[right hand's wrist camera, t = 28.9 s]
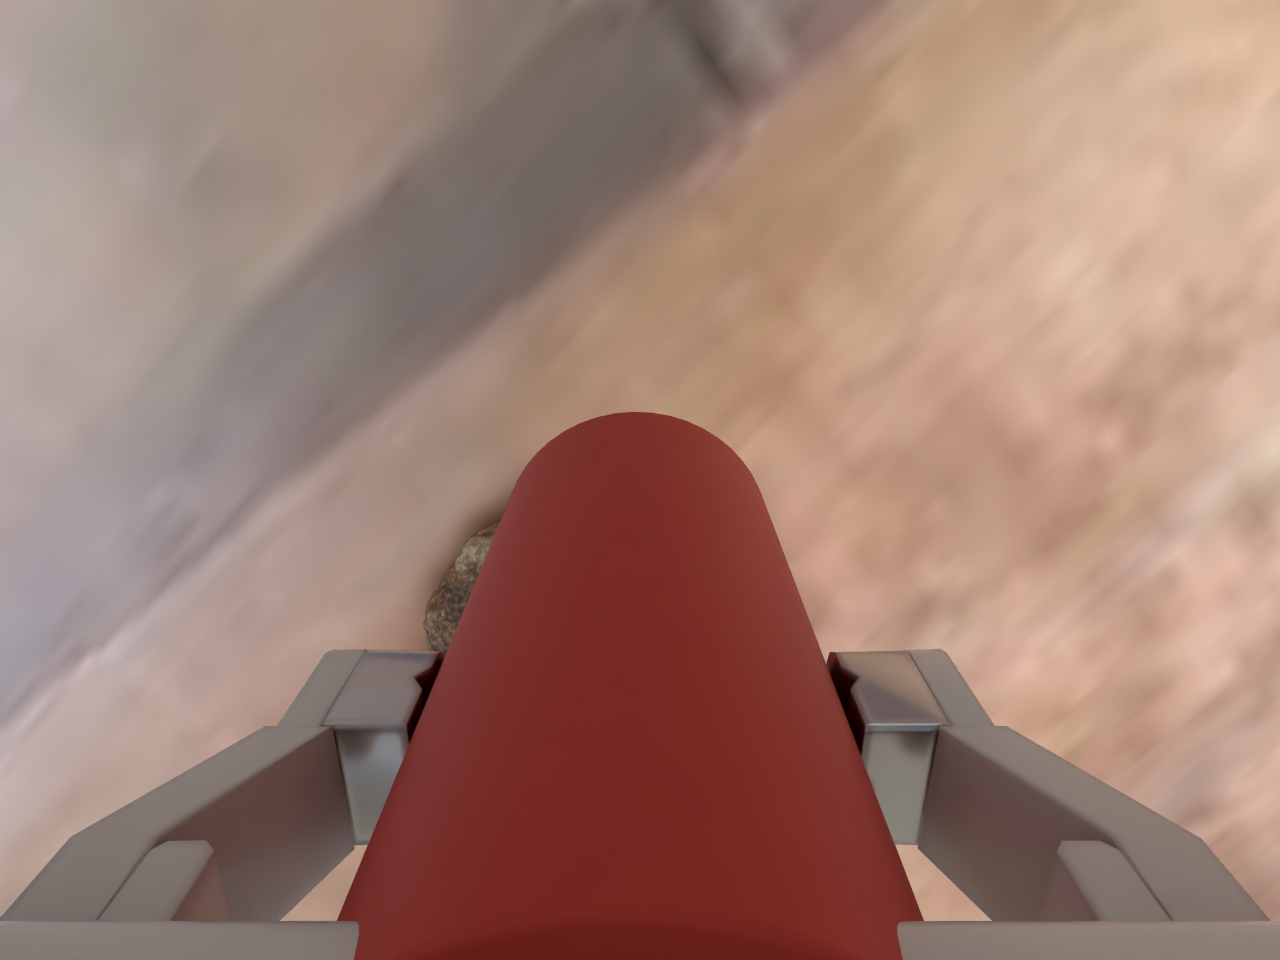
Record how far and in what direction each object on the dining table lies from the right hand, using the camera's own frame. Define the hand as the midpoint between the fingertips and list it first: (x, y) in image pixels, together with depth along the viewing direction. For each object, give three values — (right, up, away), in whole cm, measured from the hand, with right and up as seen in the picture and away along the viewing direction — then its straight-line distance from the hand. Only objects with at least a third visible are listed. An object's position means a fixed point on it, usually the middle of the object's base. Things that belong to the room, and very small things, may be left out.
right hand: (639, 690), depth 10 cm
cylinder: (0, +2, +5) cm, 5 cm away
